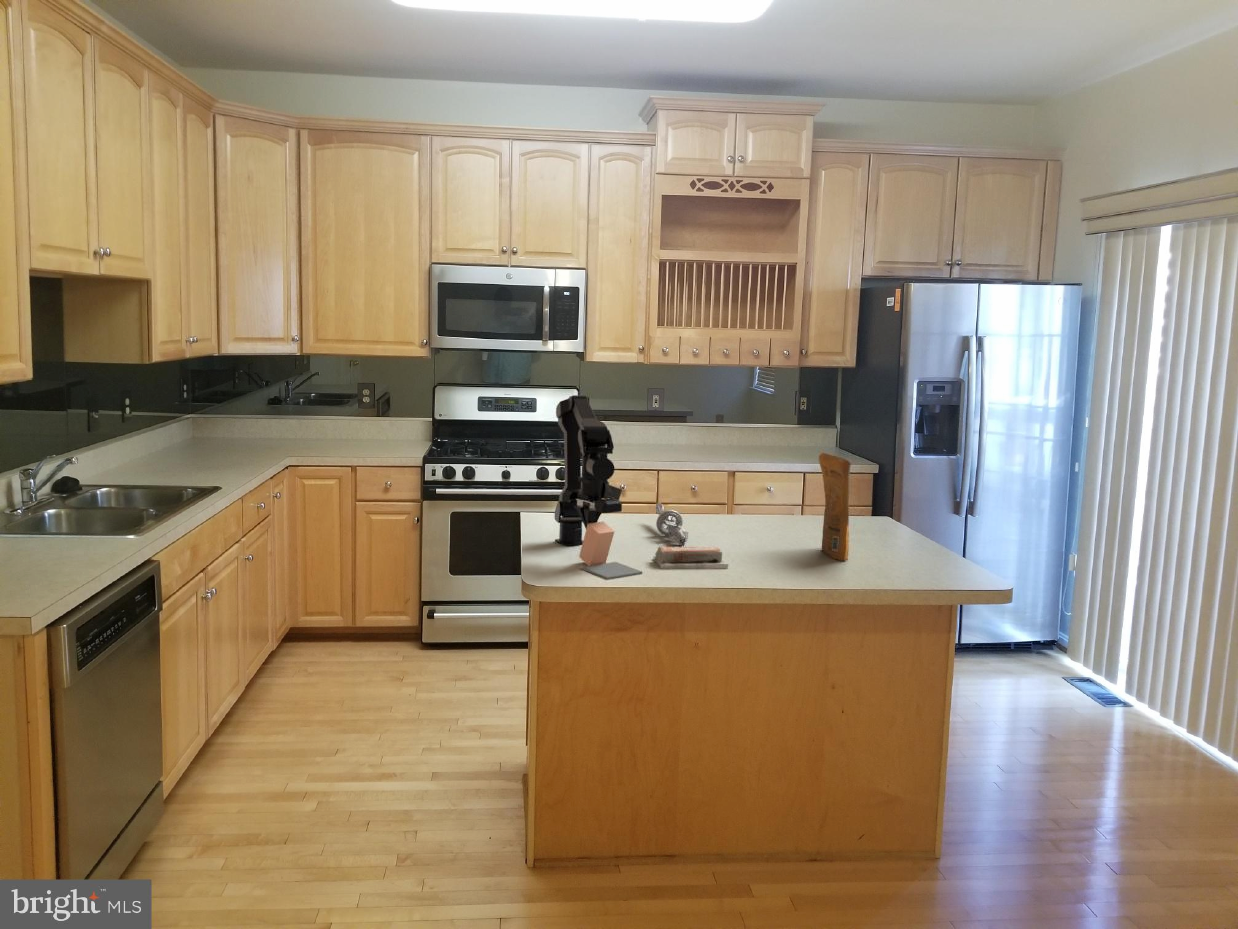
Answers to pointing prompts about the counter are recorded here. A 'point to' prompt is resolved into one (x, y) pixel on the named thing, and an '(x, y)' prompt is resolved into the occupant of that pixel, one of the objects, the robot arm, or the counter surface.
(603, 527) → the terracotta block
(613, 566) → the gray square plate
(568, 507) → the robot arm
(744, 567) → the counter surface
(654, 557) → the packaged product
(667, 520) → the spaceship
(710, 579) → the counter surface
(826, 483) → the pancake mix bag
